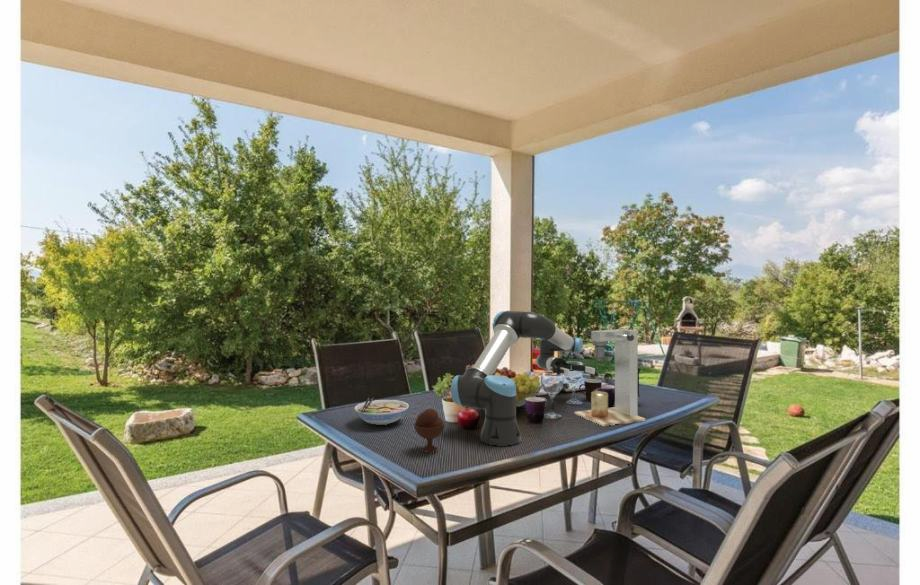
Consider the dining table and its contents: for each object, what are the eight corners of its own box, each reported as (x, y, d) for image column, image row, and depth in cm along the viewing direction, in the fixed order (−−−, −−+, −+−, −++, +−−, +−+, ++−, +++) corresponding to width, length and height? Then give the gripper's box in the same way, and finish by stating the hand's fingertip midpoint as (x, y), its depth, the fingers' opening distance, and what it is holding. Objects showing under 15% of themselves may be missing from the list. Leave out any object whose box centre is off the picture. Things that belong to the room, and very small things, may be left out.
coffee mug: (600, 398, 237) (600, 379, 237) (603, 403, 229) (603, 382, 228) (576, 398, 238) (576, 378, 238) (579, 402, 230) (579, 382, 230)
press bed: (602, 426, 191) (602, 423, 191) (574, 414, 209) (574, 411, 209) (645, 420, 198) (645, 418, 198) (615, 409, 217) (615, 406, 217)
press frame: (611, 424, 190) (611, 334, 190) (587, 413, 206) (587, 330, 205) (648, 419, 197) (648, 332, 196) (622, 409, 212) (622, 328, 212)
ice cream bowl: (451, 449, 165) (451, 407, 165) (429, 458, 157) (428, 413, 157) (430, 442, 172) (430, 402, 172) (407, 450, 164) (407, 408, 164)
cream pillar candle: (597, 418, 198) (597, 395, 197) (588, 414, 204) (588, 392, 204) (611, 417, 200) (611, 394, 200) (601, 413, 207) (601, 390, 206)
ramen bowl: (405, 432, 184) (405, 412, 184) (348, 433, 184) (347, 412, 184) (411, 415, 209) (411, 397, 209) (361, 415, 209) (360, 397, 209)
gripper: (578, 371, 236) (604, 378, 216) (534, 374, 228) (557, 381, 208) (578, 356, 236) (604, 362, 216) (534, 358, 228) (557, 365, 208)
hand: (581, 372), depth 212 cm, fingers open, 13 cm apart
